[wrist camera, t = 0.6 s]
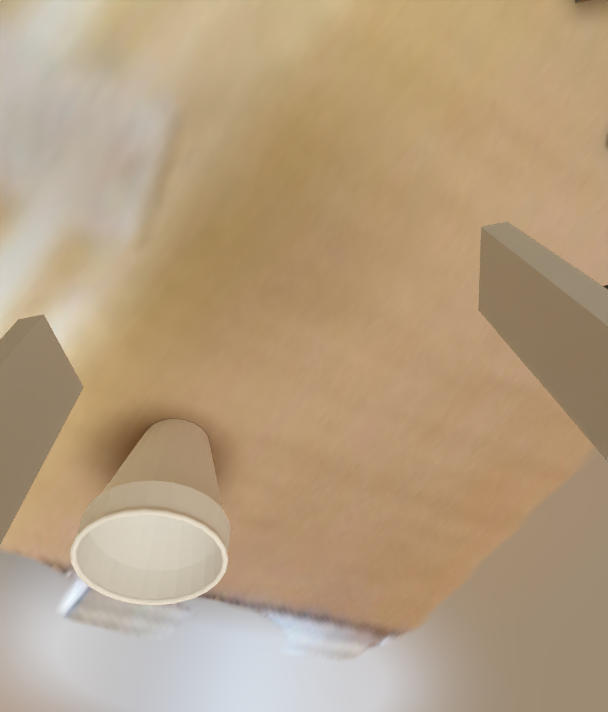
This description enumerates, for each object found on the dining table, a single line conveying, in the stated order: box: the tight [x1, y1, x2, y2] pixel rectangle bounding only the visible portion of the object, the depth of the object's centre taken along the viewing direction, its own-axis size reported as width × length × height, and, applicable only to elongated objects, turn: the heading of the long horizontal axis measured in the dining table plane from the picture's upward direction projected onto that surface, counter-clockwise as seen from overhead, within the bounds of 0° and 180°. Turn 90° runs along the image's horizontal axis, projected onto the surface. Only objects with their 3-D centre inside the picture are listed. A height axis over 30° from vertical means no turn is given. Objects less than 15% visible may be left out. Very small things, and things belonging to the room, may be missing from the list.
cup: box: [70, 419, 231, 605], centre depth 43 cm, size 12×12×14 cm
